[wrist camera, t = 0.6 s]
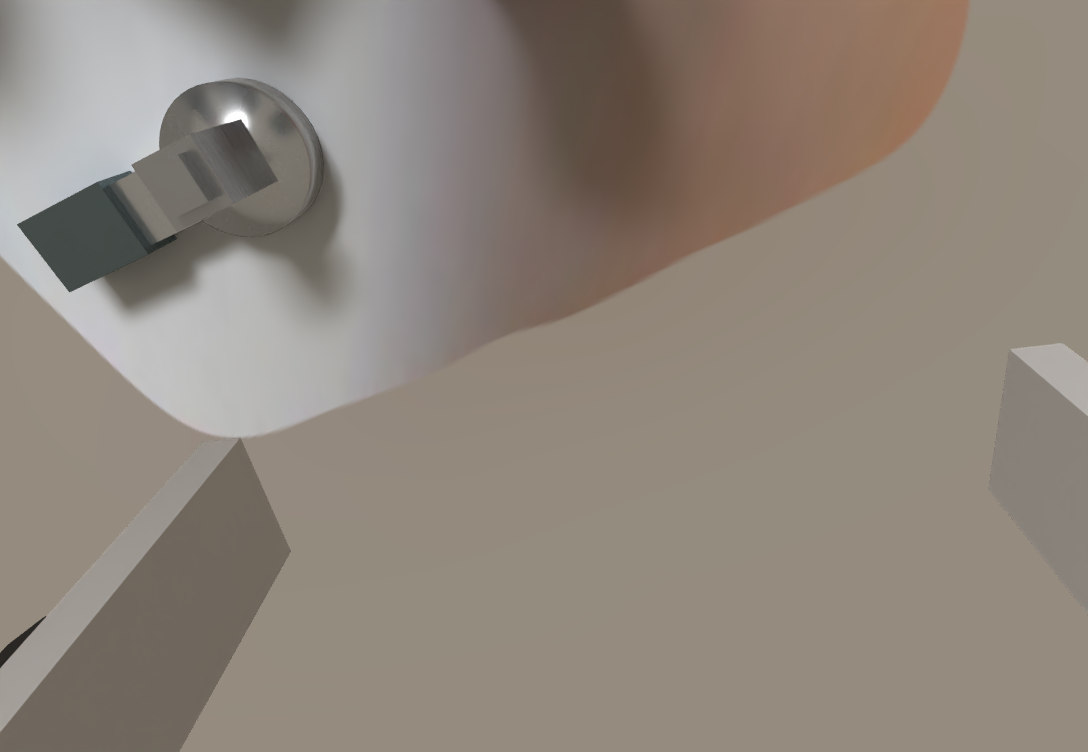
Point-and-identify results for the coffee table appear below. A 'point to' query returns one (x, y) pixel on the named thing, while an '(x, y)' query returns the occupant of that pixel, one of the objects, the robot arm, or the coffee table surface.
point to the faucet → (190, 182)
